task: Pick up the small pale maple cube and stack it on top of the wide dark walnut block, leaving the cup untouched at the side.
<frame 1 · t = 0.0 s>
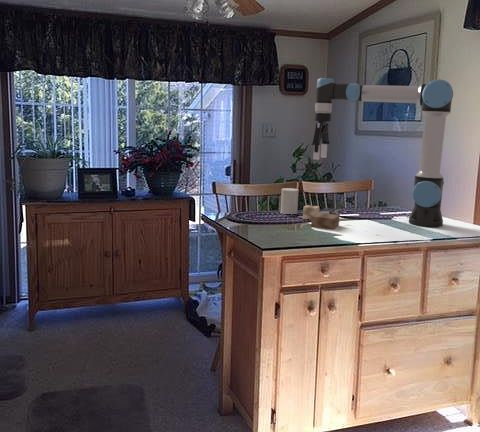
hand: (319, 158, 252), 28 cm above the countertop, fingers open, 13 cm apart
walnut block: (324, 226, 237), on the countertop
maple cube: (310, 219, 252), on the countertop
cup: (288, 214, 263), on the countertop
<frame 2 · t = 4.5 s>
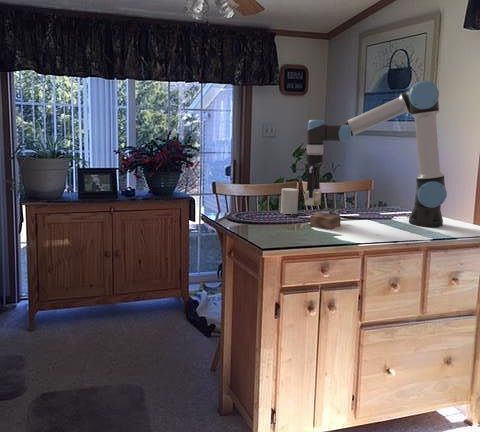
hand: (312, 203, 250), 7 cm above the countertop, fingers closed on maple cube, 6 cm apart
maple cube: (312, 204, 250), point 7 cm above the countertop, touching gripper
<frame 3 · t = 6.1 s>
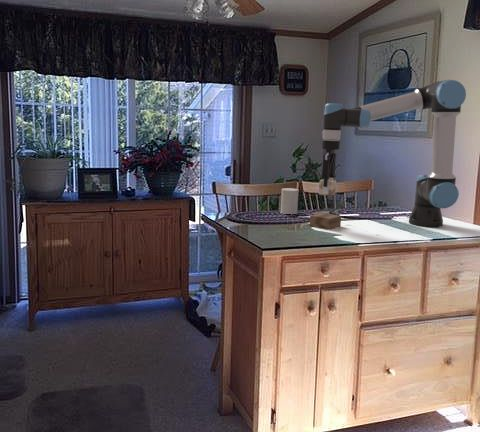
hand: (327, 193, 234), 15 cm above the countertop, fingers closed on maple cube, 6 cm apart
maple cube: (326, 194, 234), point 14 cm above the countertop, touching gripper
everything else where it was.
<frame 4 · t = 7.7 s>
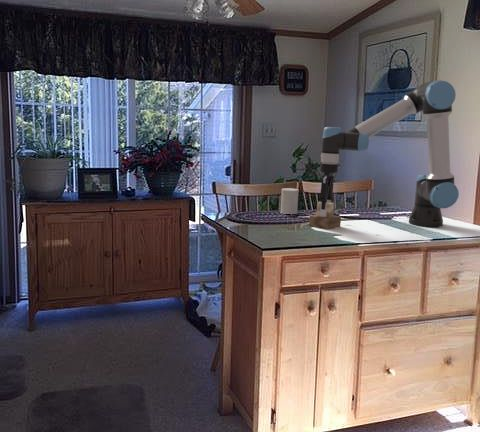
hand: (324, 215, 236), 5 cm above the countertop, fingers closed on maple cube, 6 cm apart
walnut block: (324, 227, 237), on the countertop, touching gripper, maple cube
maple cube: (324, 216, 236), point 5 cm above the countertop, touching gripper, walnut block
everything else where it was.
when the fingers open (5 cm above the countertop, at t = 7.8 s): maple cube stays where it is, point 5 cm above the countertop.
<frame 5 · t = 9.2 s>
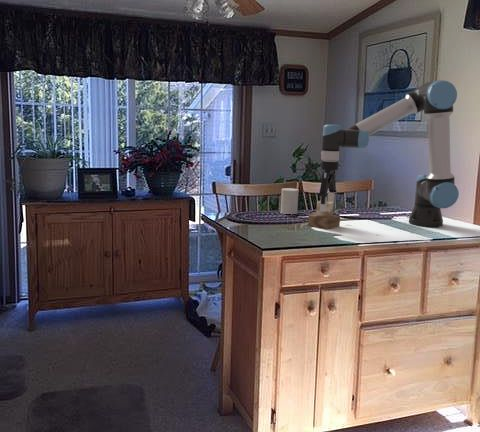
hand: (326, 209, 236), 8 cm above the countertop, fingers open, 13 cm apart
walnut block: (323, 226, 237), on the countertop
maple cube: (324, 215, 236), point 5 cm above the countertop
everything else where it was.
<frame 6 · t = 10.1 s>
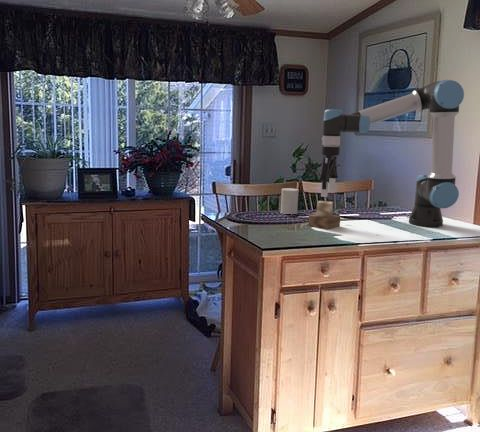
hand: (328, 194, 234), 14 cm above the countertop, fingers open, 13 cm apart
walnut block: (323, 226, 237), on the countertop, touching maple cube
maple cube: (324, 215, 236), point 5 cm above the countertop, touching walnut block
everything else where it was.
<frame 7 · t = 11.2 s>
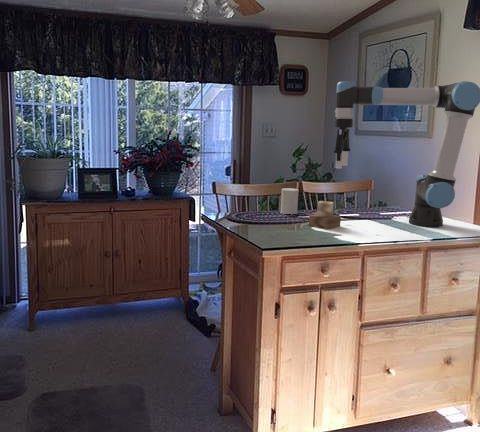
hand: (341, 167, 236), 26 cm above the countertop, fingers open, 13 cm apart
nothing on the countertop moved.
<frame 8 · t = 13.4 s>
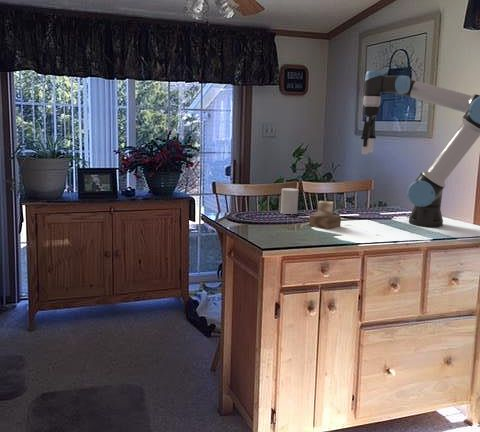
hand: (367, 153, 246), 32 cm above the countertop, fingers open, 13 cm apart
walnut block: (324, 226, 237), on the countertop
maple cube: (324, 215, 236), point 5 cm above the countertop
everything else where it was.
at the end: maple cube inside the target area on the walnut block (0.2 cm from its centre), point 5.0 cm above the walnut block's base; maple cube tilted 0°; the gripper is holding nothing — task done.
